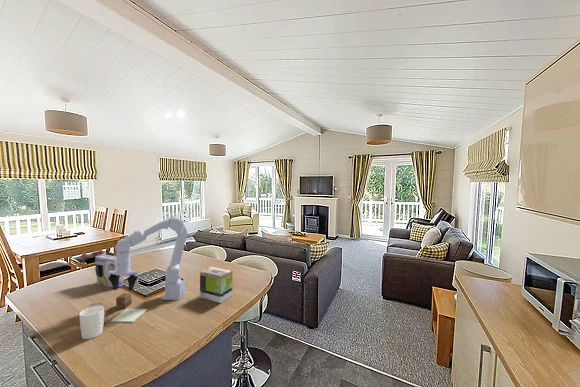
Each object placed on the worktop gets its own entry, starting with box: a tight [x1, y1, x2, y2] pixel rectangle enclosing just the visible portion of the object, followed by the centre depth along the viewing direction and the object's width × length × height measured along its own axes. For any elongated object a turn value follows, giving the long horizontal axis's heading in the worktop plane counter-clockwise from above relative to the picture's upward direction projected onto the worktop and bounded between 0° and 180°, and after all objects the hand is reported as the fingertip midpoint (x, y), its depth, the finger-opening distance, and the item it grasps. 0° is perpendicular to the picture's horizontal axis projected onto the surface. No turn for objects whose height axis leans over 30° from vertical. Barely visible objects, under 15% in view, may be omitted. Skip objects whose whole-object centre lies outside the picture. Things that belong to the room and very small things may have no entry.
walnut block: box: [115, 292, 133, 310], centre depth 118 cm, size 4×4×6 cm
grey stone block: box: [87, 302, 102, 308], centre depth 112 cm, size 4×4×4 cm
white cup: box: [78, 305, 105, 340], centre depth 96 cm, size 8×8×10 cm
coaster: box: [110, 308, 148, 324], centre depth 110 cm, size 10×10×1 cm
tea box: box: [199, 266, 233, 304], centre depth 130 cm, size 15×10×15 cm, turn 65°
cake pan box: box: [94, 254, 124, 289], centre depth 141 cm, size 19×5×18 cm, turn 68°
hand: (123, 289), depth 118 cm, fingers open, 7 cm apart
